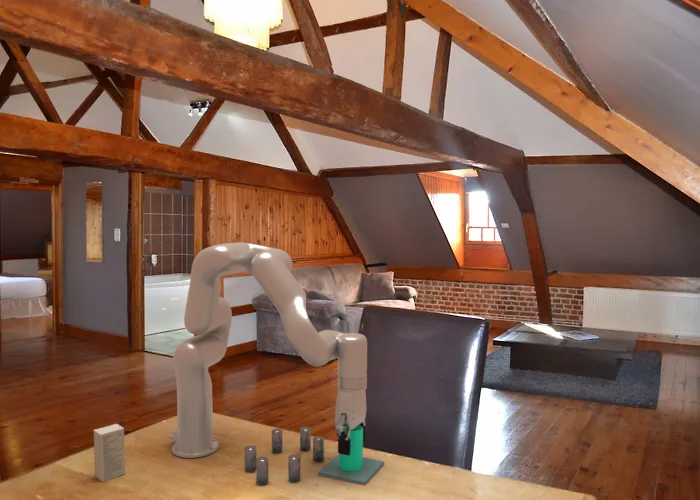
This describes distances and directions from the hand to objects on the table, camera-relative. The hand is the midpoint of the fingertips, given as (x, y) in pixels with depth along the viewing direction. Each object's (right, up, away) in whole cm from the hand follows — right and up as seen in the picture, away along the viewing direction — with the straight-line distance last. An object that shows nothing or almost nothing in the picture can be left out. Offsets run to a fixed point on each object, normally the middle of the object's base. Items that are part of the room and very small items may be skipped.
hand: (351, 447), depth 150 cm
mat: (0, -6, 0) cm, 6 cm away
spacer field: (-18, -6, +3) cm, 19 cm away
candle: (0, -5, 0) cm, 5 cm away
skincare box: (-61, -6, -4) cm, 62 cm away
